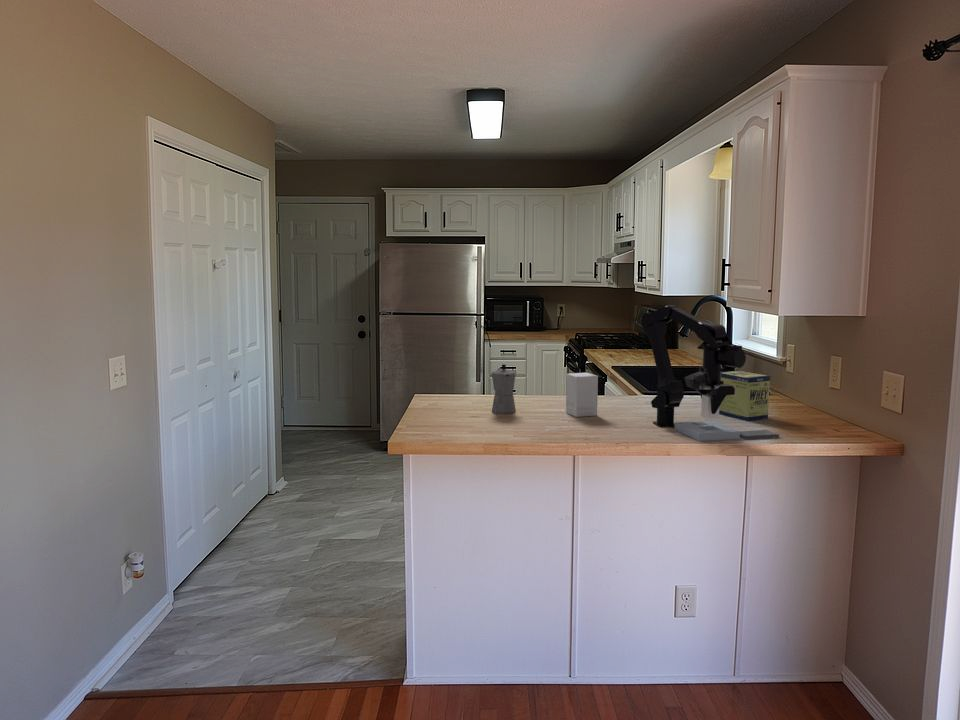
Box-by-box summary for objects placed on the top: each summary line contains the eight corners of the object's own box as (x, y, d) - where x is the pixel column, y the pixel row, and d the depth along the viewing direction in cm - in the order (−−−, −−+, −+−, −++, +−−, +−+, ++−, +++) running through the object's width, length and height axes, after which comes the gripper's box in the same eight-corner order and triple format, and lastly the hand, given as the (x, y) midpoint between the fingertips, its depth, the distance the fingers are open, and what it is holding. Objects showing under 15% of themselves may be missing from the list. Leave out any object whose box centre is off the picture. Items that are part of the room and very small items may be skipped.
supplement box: (598, 415, 252) (598, 375, 251) (575, 417, 250) (576, 376, 248) (586, 411, 261) (587, 372, 259) (565, 412, 258) (565, 373, 256)
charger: (701, 416, 223) (701, 394, 222) (712, 415, 224) (713, 394, 223) (707, 418, 219) (708, 396, 218) (719, 418, 220) (720, 396, 219)
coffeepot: (520, 414, 255) (520, 366, 253) (495, 415, 253) (495, 367, 251) (510, 406, 270) (510, 361, 268) (486, 407, 268) (486, 361, 266)
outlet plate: (674, 429, 230) (674, 422, 230) (712, 427, 233) (713, 420, 233) (698, 441, 215) (699, 433, 215) (739, 438, 218) (739, 430, 217)
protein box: (747, 421, 242) (749, 377, 240) (715, 413, 256) (716, 371, 254) (769, 418, 247) (771, 375, 245) (736, 410, 261) (737, 370, 259)
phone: (733, 434, 223) (733, 431, 223) (766, 432, 225) (766, 429, 225) (744, 439, 217) (744, 436, 216) (778, 437, 219) (779, 434, 219)
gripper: (674, 361, 227) (673, 407, 229) (703, 369, 209) (701, 419, 211) (705, 360, 229) (703, 406, 231) (737, 368, 211) (734, 418, 213)
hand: (709, 412), depth 221 cm, fingers closed on charger, 4 cm apart
